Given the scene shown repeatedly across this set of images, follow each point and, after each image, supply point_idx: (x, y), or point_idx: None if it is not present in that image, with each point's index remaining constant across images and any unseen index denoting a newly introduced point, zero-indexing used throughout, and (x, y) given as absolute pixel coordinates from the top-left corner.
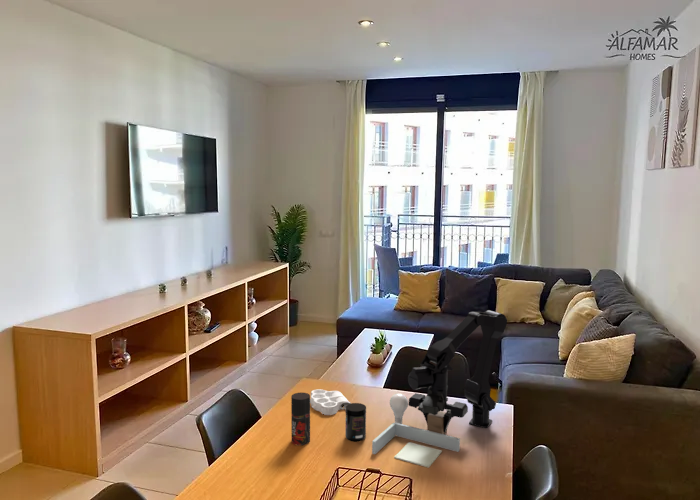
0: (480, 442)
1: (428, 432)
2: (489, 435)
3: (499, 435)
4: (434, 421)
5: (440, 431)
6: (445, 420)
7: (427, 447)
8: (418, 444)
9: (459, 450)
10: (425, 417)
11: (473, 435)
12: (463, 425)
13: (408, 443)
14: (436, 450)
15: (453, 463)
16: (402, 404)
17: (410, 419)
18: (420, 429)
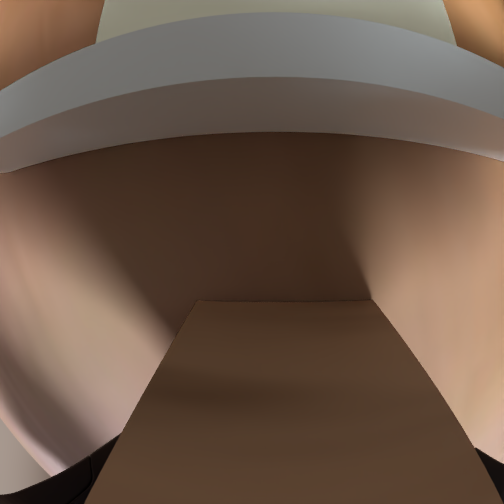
0: (4, 356)
1: (295, 15)
2: (36, 431)
3: (22, 433)
4: (306, 475)
5: (189, 349)
6: (81, 502)
7: (245, 1)
8: (362, 18)
9: (7, 171)
10: (486, 463)
11: (69, 425)
12: None
13: (442, 17)
14: (139, 9)
15: (27, 5)
16: None
17: (488, 425)
18: (484, 78)
